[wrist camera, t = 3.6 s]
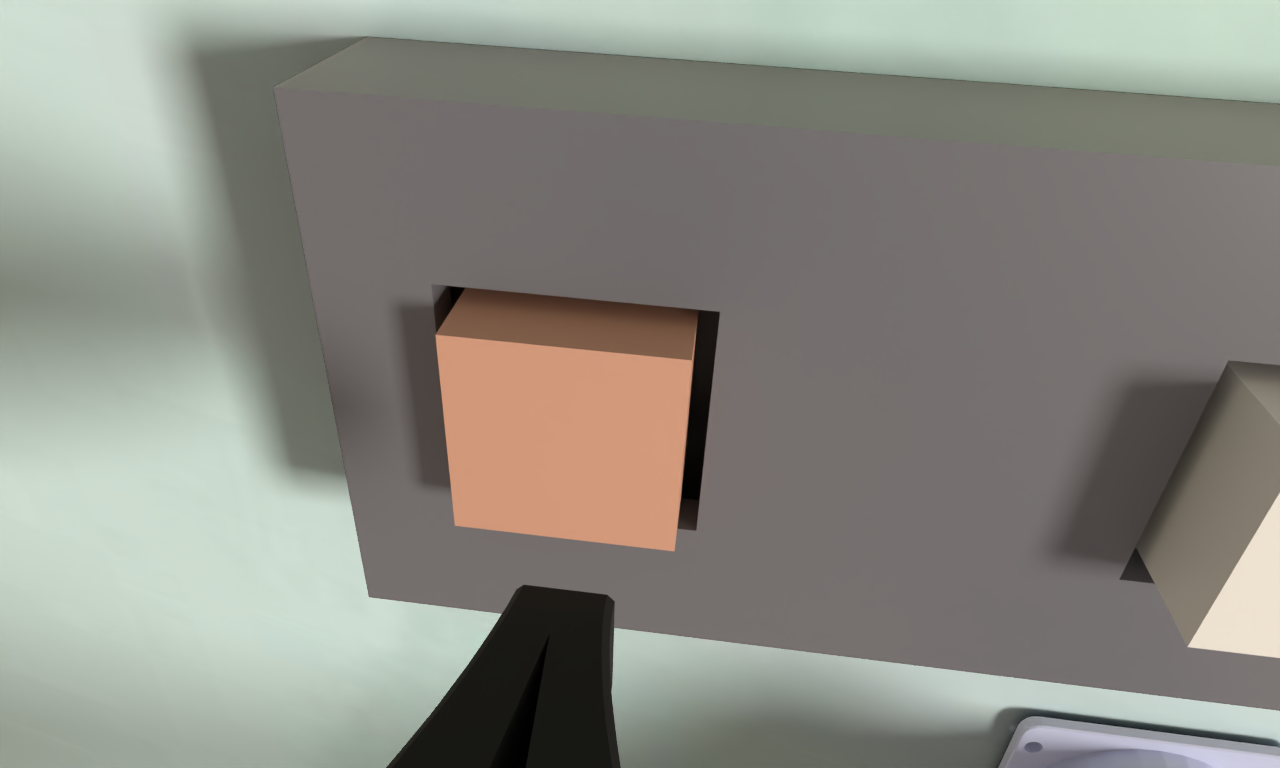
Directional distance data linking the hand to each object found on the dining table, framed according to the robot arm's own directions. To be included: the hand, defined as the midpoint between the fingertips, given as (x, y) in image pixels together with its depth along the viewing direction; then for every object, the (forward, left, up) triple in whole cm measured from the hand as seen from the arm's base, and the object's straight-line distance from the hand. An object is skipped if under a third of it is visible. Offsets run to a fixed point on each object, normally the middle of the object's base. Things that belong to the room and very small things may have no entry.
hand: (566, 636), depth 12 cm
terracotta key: (0, +1, -7) cm, 7 cm away
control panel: (0, -6, -9) cm, 11 cm away
